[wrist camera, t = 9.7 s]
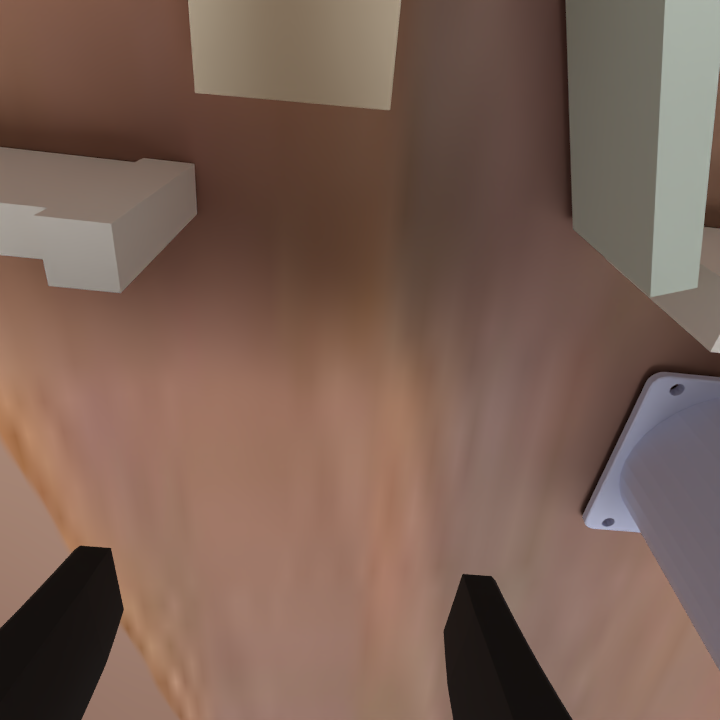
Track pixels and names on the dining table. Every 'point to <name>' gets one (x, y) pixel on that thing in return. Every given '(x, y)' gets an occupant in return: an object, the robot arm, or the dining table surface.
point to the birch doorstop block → (296, 50)
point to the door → (643, 132)
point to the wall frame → (171, 214)
